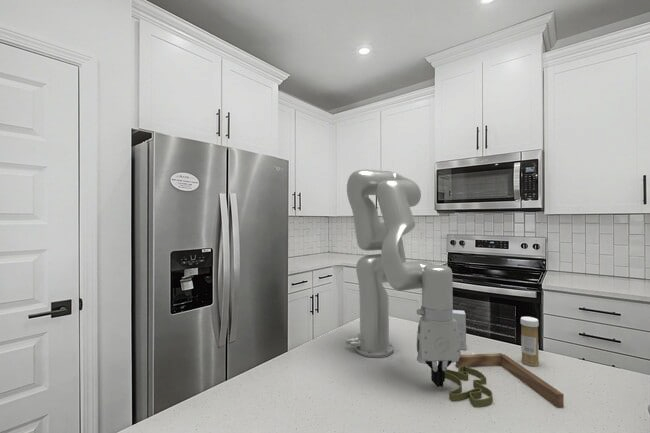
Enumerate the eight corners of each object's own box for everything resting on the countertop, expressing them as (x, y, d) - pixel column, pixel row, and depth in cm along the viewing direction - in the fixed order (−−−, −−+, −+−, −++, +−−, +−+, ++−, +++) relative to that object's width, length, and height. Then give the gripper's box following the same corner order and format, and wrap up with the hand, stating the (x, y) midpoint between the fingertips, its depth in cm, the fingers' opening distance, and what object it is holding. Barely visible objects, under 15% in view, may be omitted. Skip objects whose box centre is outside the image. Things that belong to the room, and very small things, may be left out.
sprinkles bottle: (541, 364, 97) (541, 318, 97) (534, 368, 95) (534, 321, 95) (525, 358, 101) (525, 315, 101) (518, 362, 99) (517, 317, 99)
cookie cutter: (432, 371, 94) (432, 364, 94) (475, 372, 93) (475, 365, 93) (453, 407, 76) (452, 399, 76) (506, 409, 75) (506, 400, 75)
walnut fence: (502, 410, 74) (502, 397, 74) (455, 365, 97) (455, 355, 97) (563, 407, 76) (563, 394, 76) (502, 363, 98) (502, 353, 98)
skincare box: (465, 345, 112) (465, 310, 112) (466, 350, 108) (466, 314, 108) (446, 343, 114) (446, 309, 114) (446, 348, 110) (446, 312, 110)
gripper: (413, 318, 80) (414, 393, 80) (472, 317, 81) (473, 391, 81) (404, 310, 88) (405, 378, 88) (458, 308, 89) (459, 376, 89)
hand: (438, 384), depth 85 cm, fingers closed
